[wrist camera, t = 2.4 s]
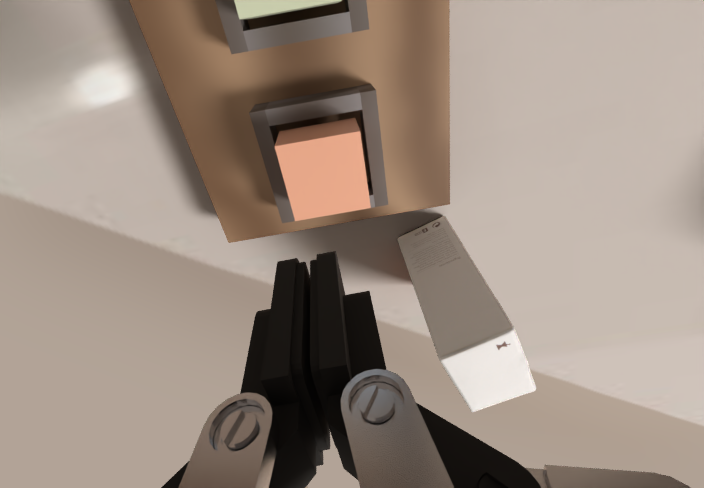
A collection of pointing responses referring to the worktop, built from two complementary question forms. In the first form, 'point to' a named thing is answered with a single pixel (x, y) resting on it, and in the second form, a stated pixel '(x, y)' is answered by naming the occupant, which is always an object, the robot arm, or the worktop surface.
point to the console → (306, 99)
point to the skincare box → (465, 318)
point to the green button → (275, 6)
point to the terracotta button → (323, 169)
